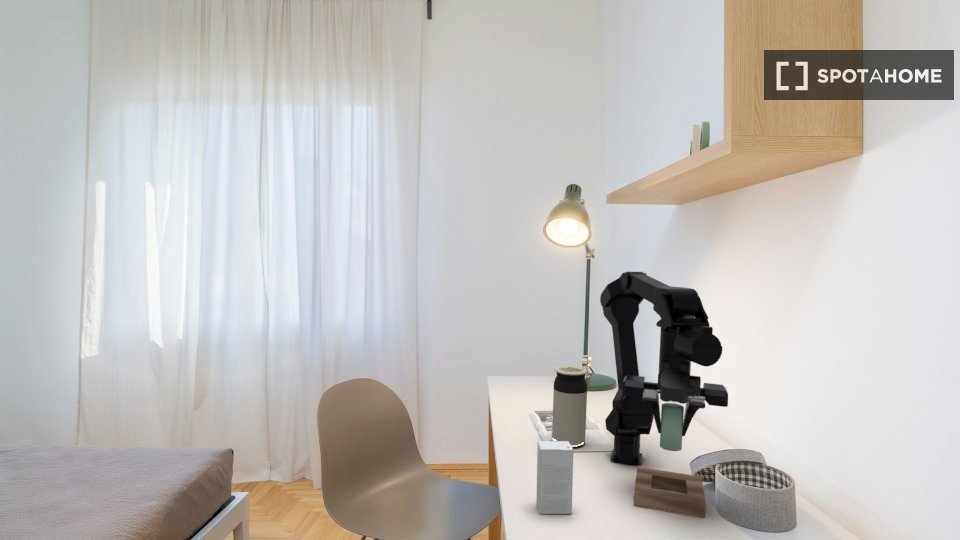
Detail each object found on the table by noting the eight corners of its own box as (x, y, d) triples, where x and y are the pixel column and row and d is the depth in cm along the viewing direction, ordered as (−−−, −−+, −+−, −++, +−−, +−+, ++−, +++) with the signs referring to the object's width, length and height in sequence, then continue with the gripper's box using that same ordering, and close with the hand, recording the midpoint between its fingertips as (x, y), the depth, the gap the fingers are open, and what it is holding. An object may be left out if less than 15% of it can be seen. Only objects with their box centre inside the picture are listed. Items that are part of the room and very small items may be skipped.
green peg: (659, 441, 108) (661, 402, 108) (681, 444, 107) (683, 404, 106) (659, 449, 104) (661, 408, 104) (682, 452, 103) (684, 410, 103)
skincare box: (567, 503, 103) (569, 440, 102) (572, 515, 98) (574, 449, 98) (535, 503, 102) (537, 440, 102) (538, 514, 98) (540, 449, 97)
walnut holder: (636, 478, 114) (637, 466, 114) (701, 488, 110) (701, 476, 110) (633, 505, 102) (634, 492, 102) (705, 518, 98) (705, 504, 98)
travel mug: (584, 450, 129) (587, 374, 127) (550, 447, 130) (553, 372, 129) (585, 438, 136) (588, 366, 135) (553, 435, 138) (555, 364, 137)
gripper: (621, 357, 100) (617, 441, 101) (733, 368, 94) (728, 457, 95) (625, 346, 110) (622, 422, 111) (726, 355, 104) (722, 435, 105)
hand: (671, 434), depth 106 cm, fingers closed on green peg, 4 cm apart
